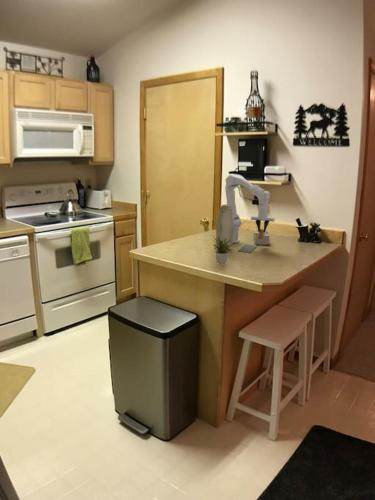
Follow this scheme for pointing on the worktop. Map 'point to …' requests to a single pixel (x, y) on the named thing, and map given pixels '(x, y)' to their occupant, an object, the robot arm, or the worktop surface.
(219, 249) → the house plant
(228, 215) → the grey rounded cylinder
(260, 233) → the spatula
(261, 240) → the coffee box
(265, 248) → the worktop surface
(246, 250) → the mat
